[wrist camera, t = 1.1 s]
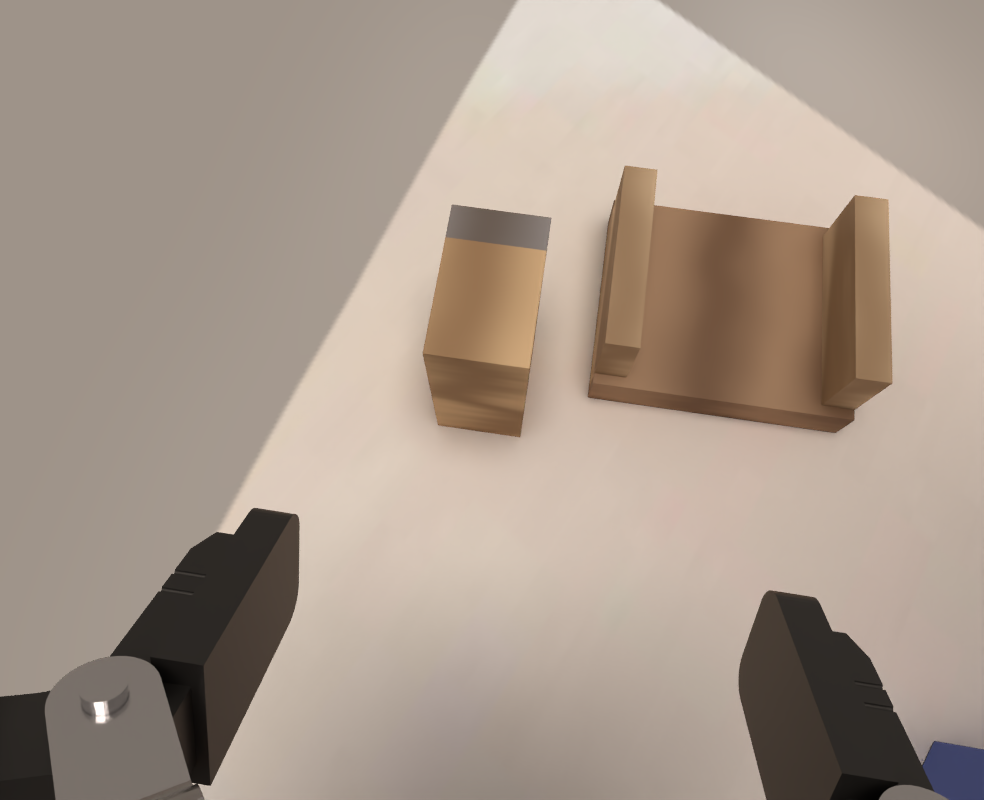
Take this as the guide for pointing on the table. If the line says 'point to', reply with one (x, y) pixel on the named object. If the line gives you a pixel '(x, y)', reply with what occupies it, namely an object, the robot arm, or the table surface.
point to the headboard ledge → (743, 311)
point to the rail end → (485, 318)
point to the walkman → (956, 771)
